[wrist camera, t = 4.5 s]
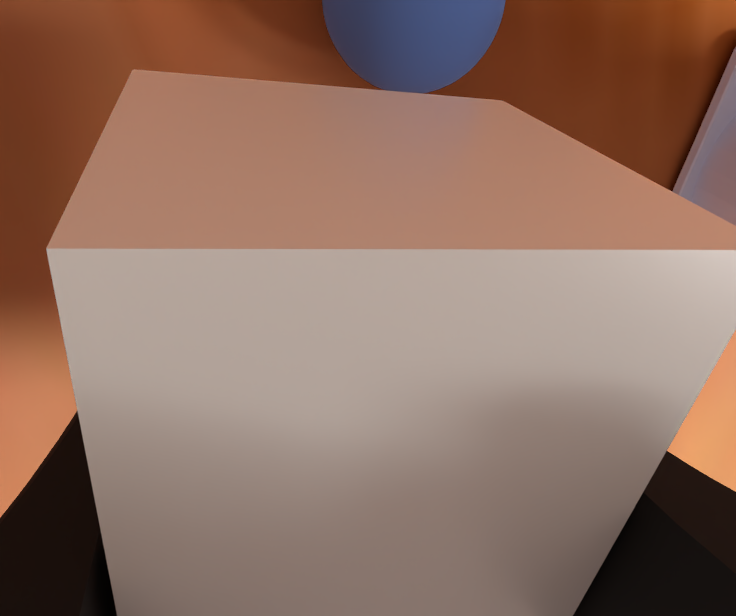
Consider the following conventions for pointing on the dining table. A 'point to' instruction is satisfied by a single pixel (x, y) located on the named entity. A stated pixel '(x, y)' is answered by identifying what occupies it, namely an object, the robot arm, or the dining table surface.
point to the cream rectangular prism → (372, 348)
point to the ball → (412, 39)
